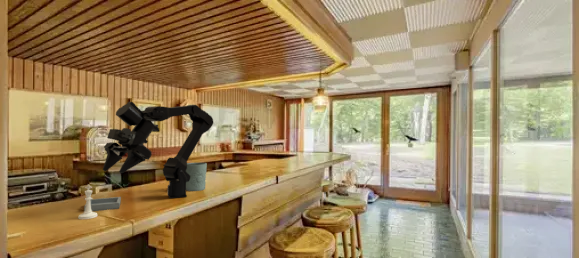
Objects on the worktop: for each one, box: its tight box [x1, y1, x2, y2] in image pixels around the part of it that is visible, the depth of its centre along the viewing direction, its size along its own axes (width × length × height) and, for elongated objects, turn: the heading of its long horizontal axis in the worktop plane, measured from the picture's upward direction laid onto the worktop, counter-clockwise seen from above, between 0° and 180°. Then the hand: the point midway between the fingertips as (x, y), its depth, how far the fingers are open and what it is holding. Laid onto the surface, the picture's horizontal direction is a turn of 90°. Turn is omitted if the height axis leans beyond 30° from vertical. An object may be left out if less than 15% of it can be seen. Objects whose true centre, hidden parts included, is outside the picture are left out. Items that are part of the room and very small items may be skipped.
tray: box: [83, 196, 122, 212], centre depth 99 cm, size 10×10×2 cm
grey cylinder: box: [186, 162, 208, 192], centre depth 132 cm, size 10×10×12 cm
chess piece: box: [77, 184, 98, 220], centre depth 88 cm, size 5×5×10 cm
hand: (112, 171), depth 93 cm, fingers open, 9 cm apart
